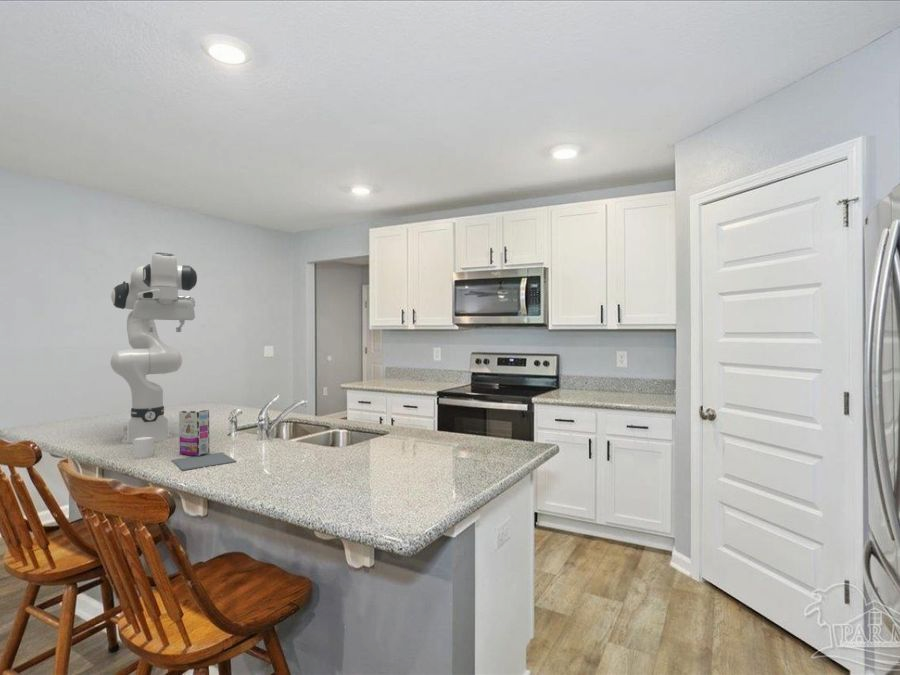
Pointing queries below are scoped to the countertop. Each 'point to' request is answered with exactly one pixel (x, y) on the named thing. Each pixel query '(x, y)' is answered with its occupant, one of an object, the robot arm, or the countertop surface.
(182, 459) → the mat
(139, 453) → the white cylinder
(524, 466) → the countertop surface
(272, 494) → the countertop surface
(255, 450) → the countertop surface
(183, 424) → the candy bar box
